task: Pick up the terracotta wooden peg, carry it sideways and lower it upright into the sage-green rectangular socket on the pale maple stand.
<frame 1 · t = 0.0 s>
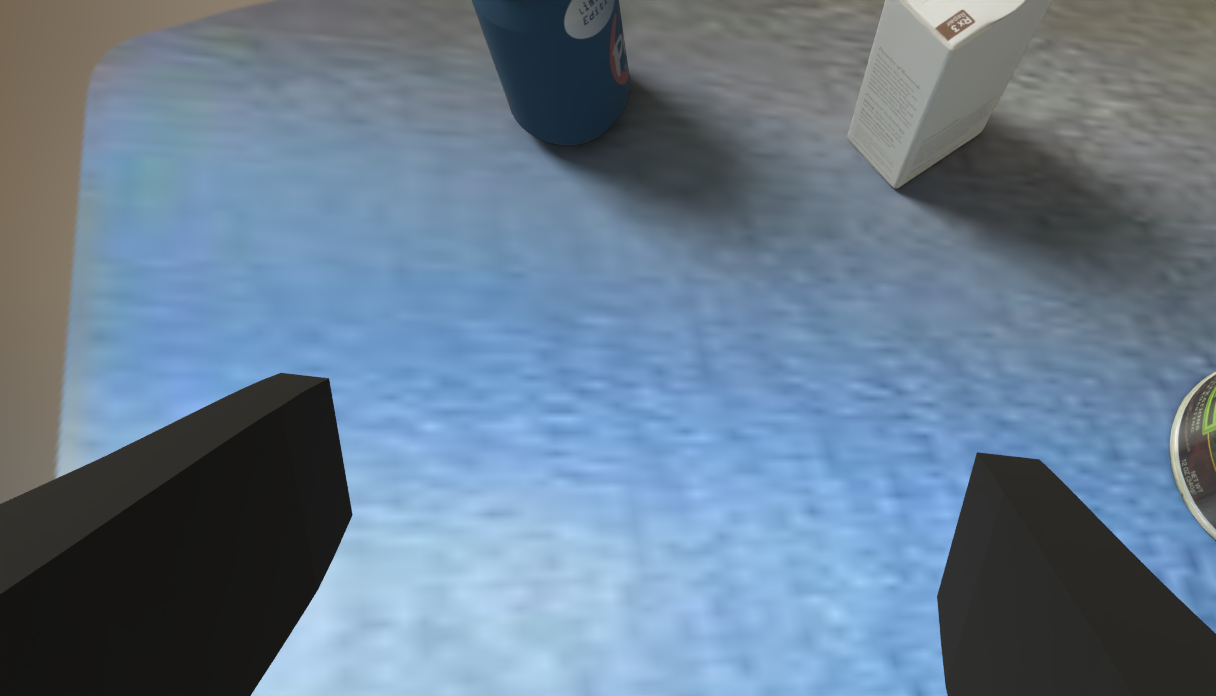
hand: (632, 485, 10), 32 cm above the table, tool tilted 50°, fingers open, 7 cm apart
soda can: (572, 106, 50), on the table
skincare box: (911, 142, 47), on the table
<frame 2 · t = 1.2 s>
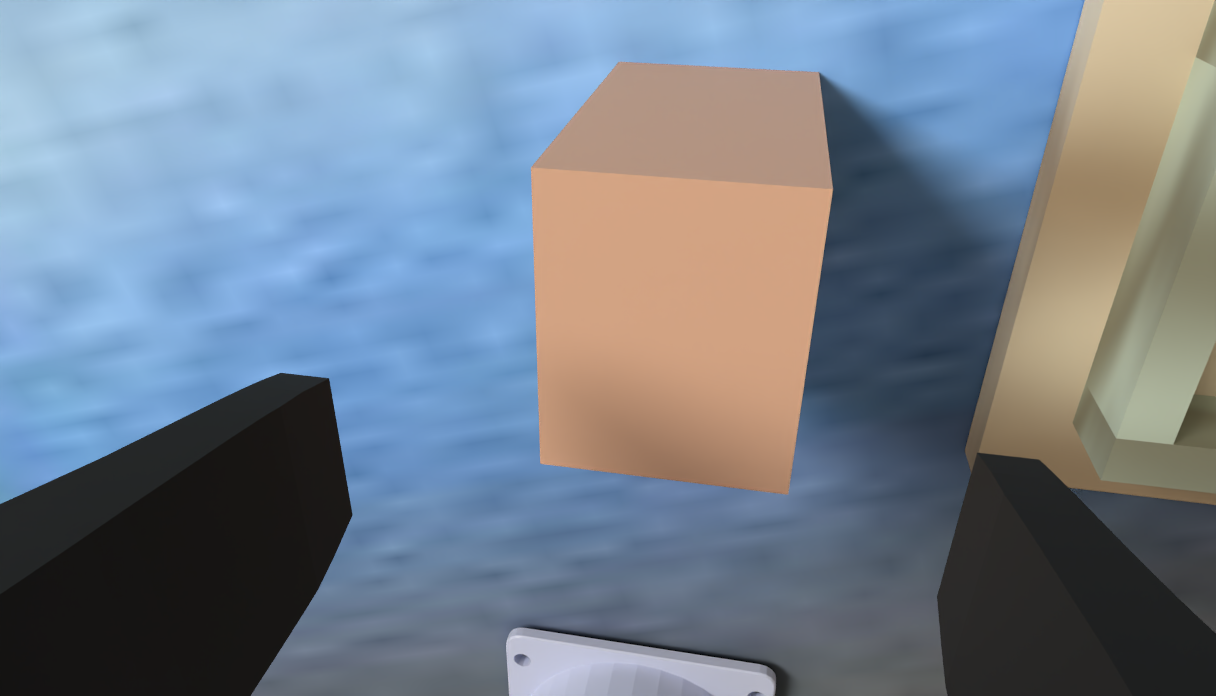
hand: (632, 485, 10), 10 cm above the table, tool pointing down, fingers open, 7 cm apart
keyed peg: (708, 186, 19), on the table
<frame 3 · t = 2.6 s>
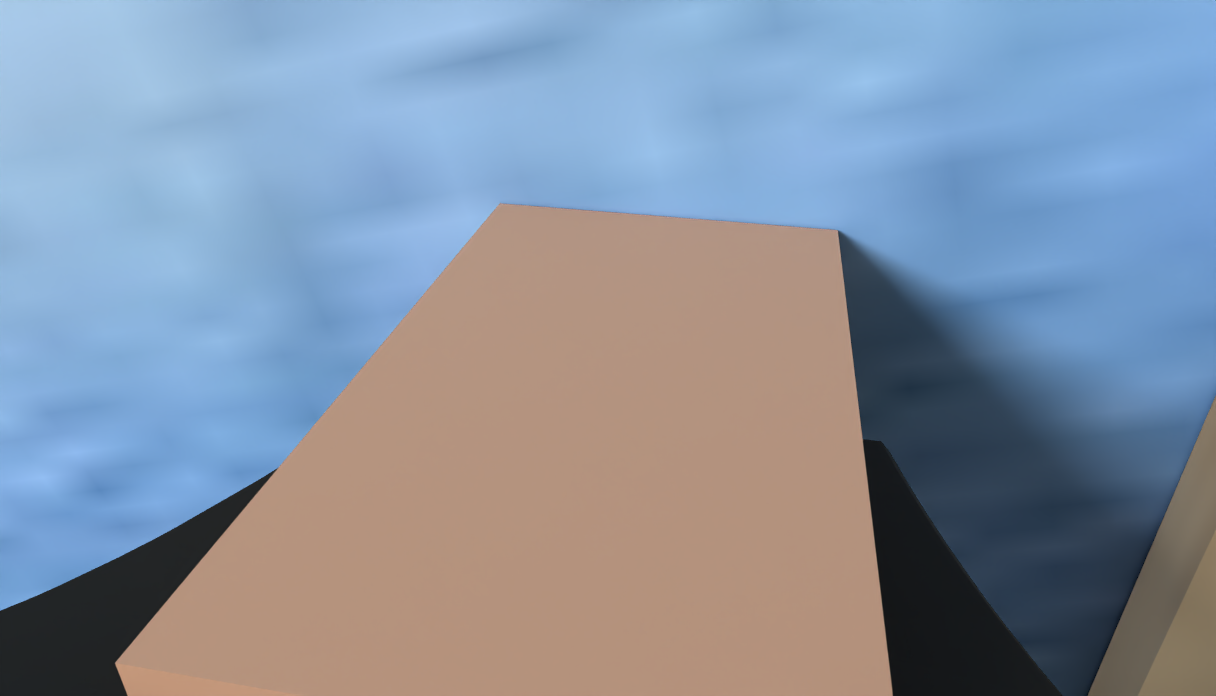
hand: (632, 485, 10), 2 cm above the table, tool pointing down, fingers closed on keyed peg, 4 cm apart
keyed peg: (655, 395, 11), on the table, touching gripper
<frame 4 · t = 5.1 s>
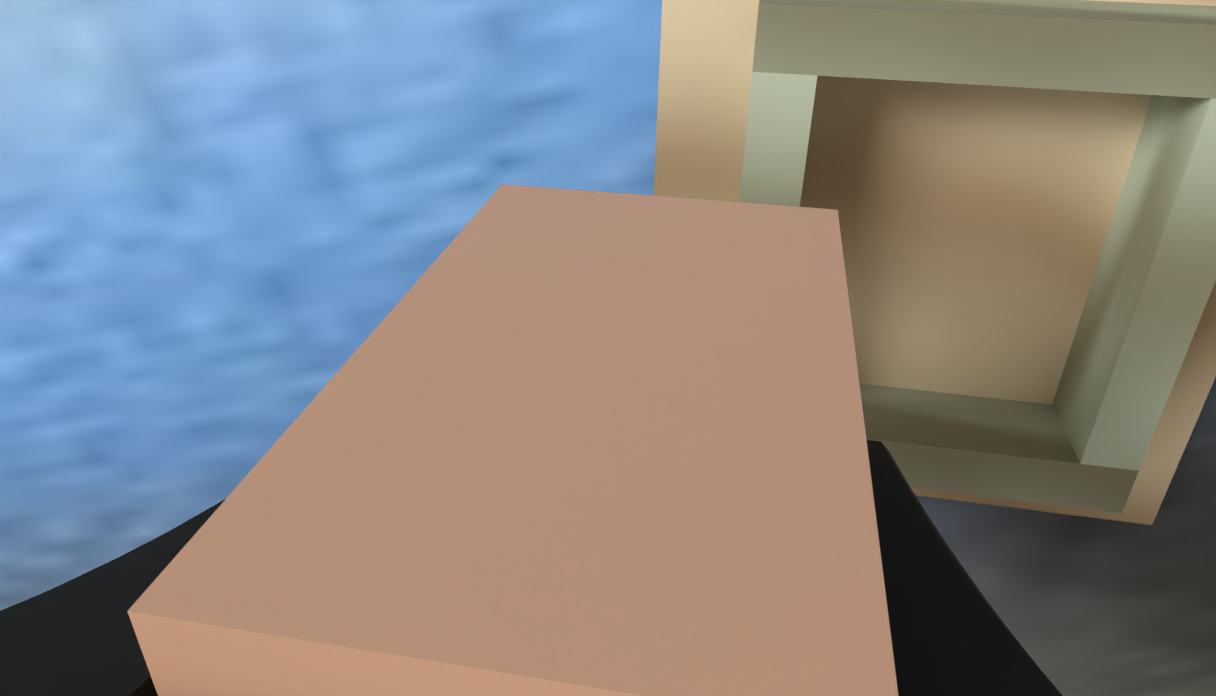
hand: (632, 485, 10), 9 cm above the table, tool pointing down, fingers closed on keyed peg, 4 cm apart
socket stand: (934, 221, 17), on the table
keyed peg: (656, 376, 12), point 7 cm above the table, touching gripper
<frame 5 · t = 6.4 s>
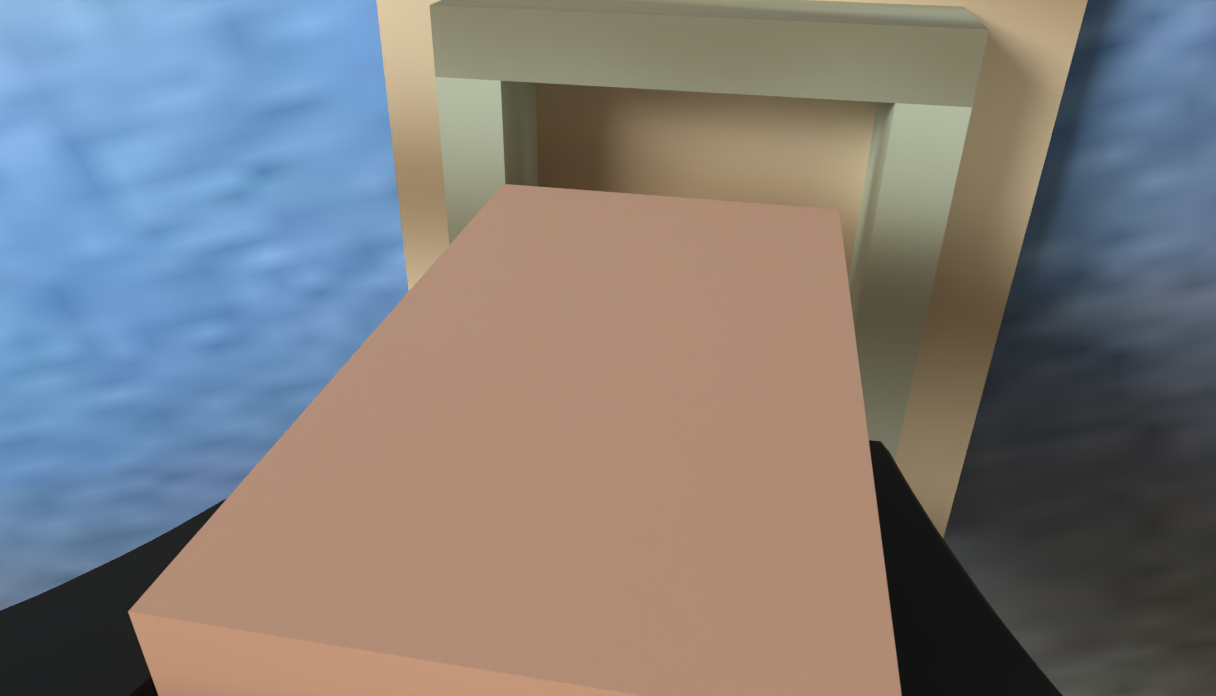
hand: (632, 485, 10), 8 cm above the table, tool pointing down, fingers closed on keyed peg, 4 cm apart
socket stand: (696, 230, 17), on the table
keyed peg: (657, 376, 12), point 6 cm above the table, touching gripper
when the fingers open (4 cm above the table, at t = 7.5 s): keyed peg drops 1 cm, resting on socket stand.
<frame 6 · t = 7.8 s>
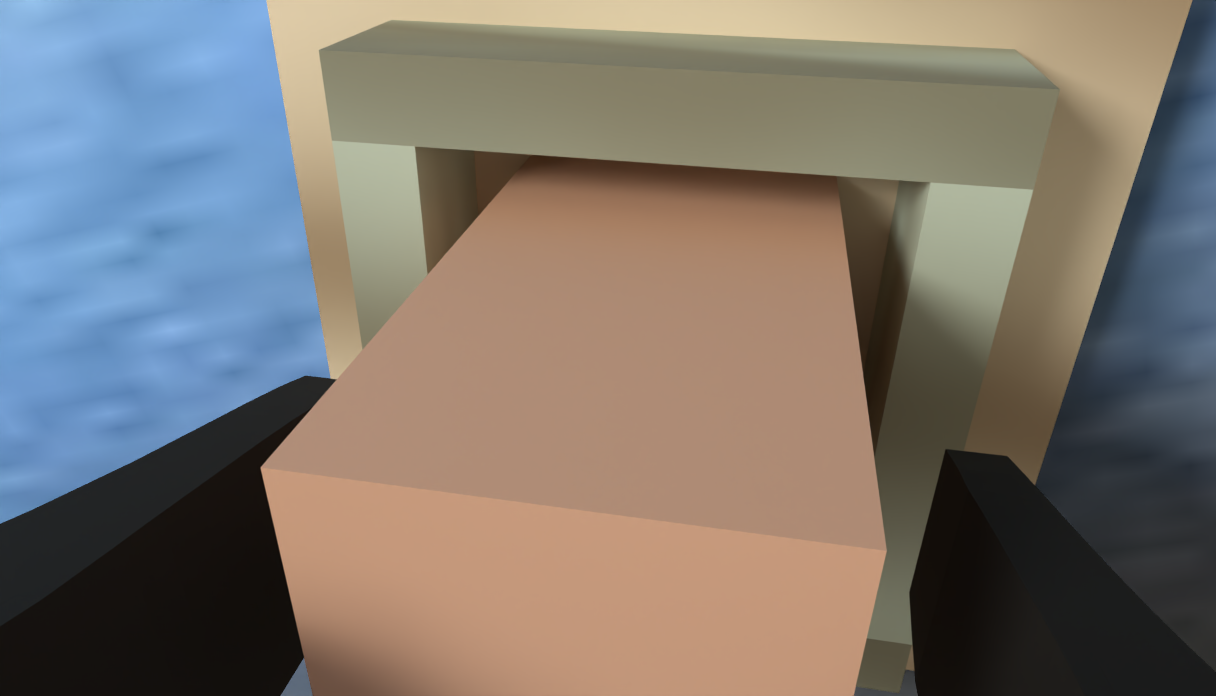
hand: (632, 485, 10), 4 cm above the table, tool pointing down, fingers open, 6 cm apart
socket stand: (676, 310, 14), on the table
keyed peg: (670, 331, 13), point 1 cm above the table, touching socket stand
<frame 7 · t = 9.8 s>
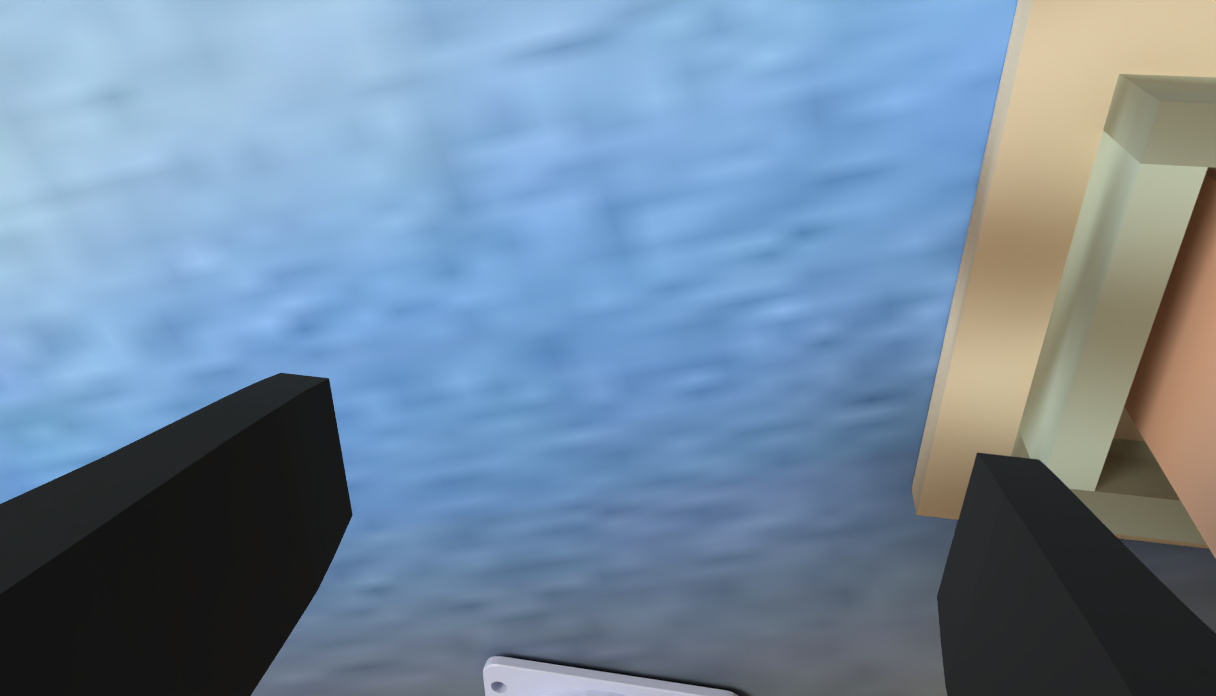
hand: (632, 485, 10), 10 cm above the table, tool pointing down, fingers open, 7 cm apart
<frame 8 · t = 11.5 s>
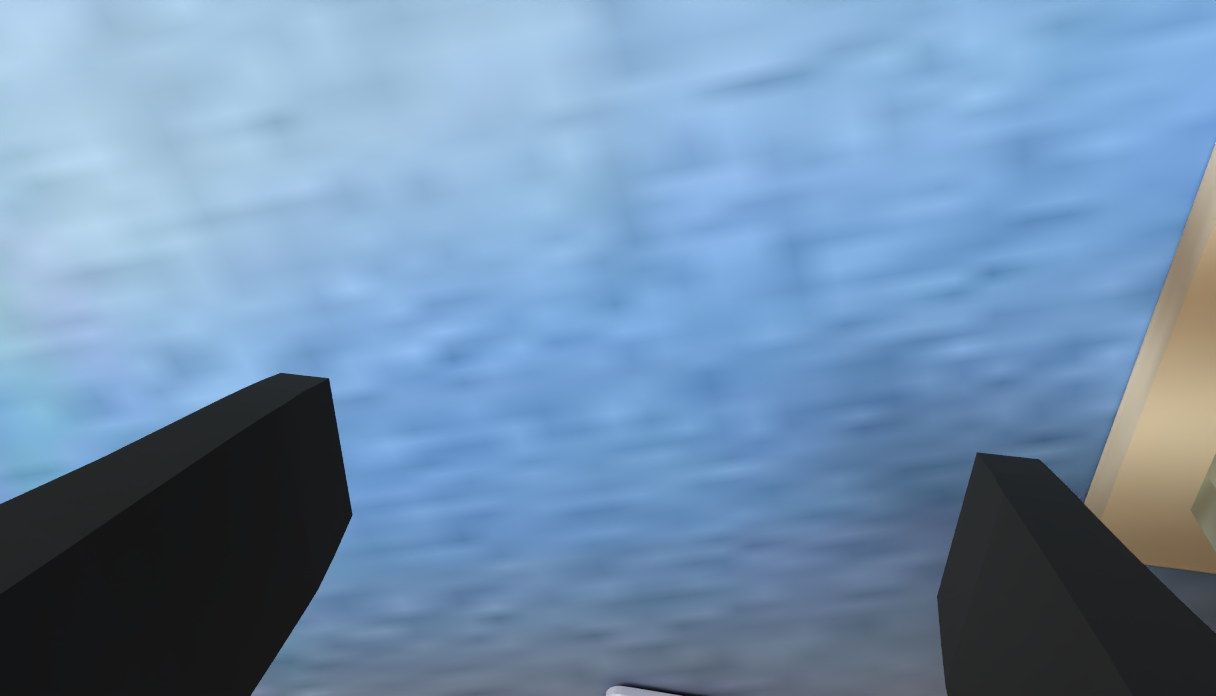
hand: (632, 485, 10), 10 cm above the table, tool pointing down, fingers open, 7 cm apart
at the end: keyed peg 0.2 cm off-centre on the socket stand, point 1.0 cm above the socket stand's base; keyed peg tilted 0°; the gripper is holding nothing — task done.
